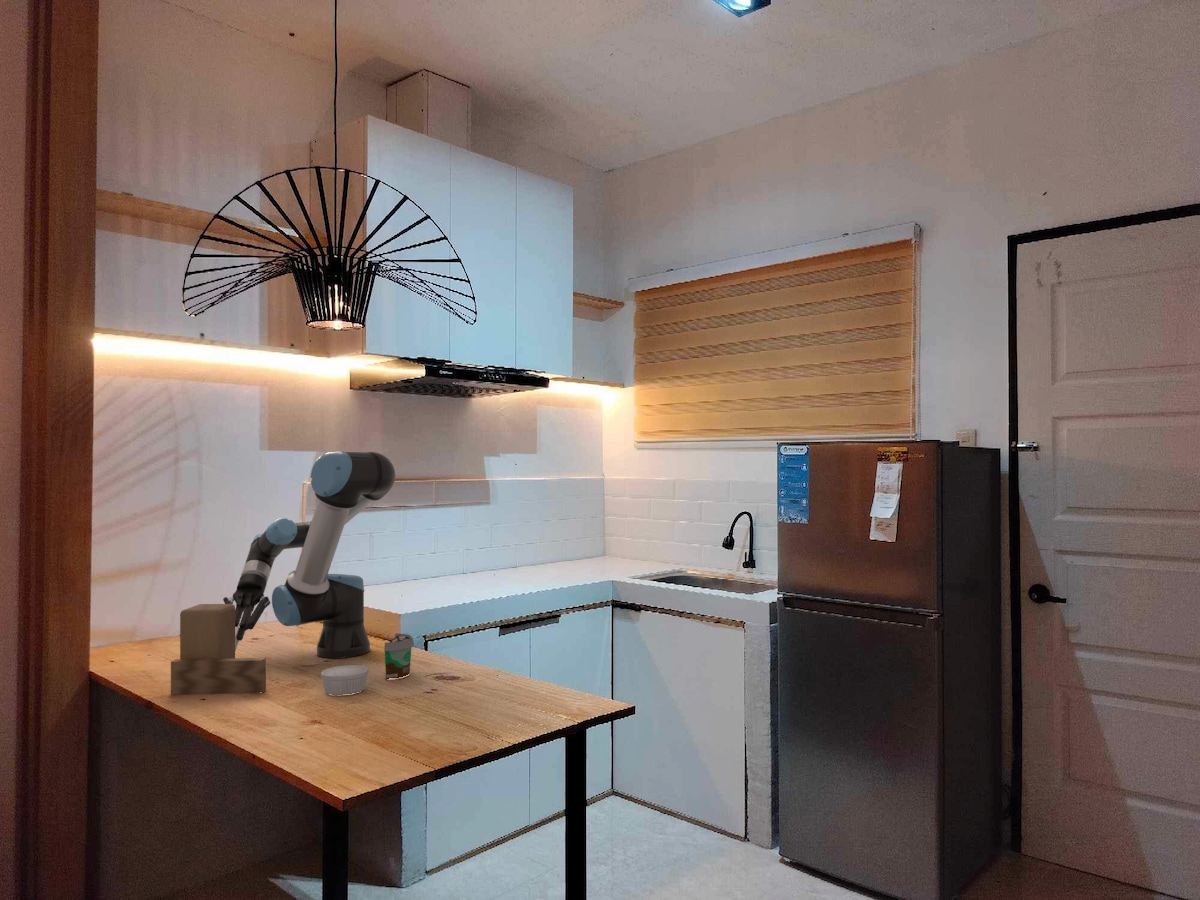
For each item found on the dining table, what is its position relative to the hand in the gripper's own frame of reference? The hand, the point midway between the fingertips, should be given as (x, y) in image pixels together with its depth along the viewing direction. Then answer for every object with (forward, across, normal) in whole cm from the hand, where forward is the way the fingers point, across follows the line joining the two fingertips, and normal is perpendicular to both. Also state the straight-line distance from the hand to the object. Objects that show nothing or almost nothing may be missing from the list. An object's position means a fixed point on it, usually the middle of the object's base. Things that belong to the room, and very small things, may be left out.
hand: (230, 649), depth 225 cm
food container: (+10, -48, +2) cm, 49 cm away
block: (+15, 0, +6) cm, 16 cm away
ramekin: (+20, -37, +12) cm, 43 cm away
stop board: (+19, -6, +11) cm, 23 cm away
